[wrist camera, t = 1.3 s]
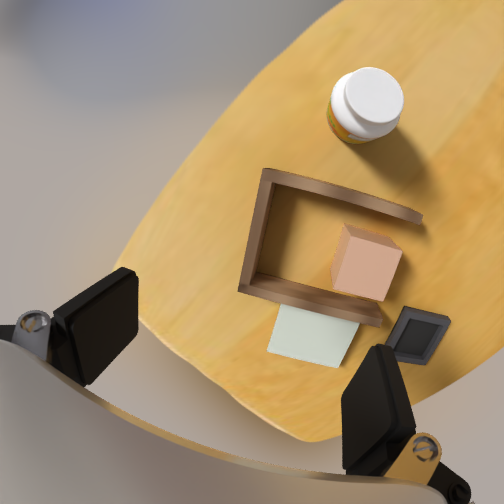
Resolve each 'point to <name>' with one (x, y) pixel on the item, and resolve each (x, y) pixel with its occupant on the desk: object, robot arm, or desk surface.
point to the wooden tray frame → (298, 292)
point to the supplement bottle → (364, 105)
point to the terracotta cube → (364, 263)
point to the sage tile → (311, 336)
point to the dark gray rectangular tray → (417, 335)
